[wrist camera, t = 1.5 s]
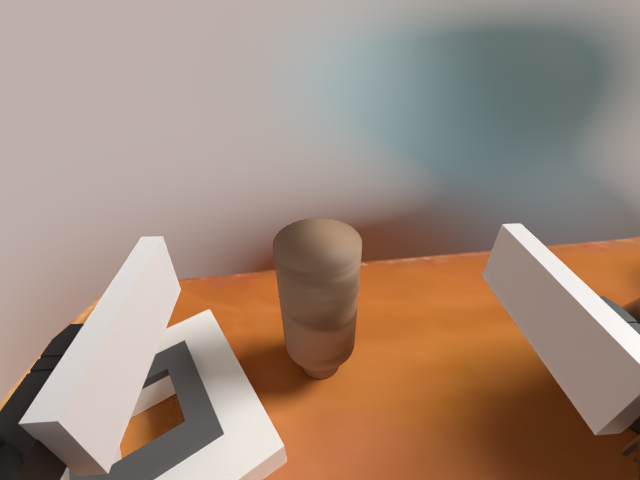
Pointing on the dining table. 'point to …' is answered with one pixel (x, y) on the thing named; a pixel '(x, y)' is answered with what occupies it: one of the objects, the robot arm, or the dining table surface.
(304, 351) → the peg
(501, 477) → the dining table surface
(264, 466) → the frame
